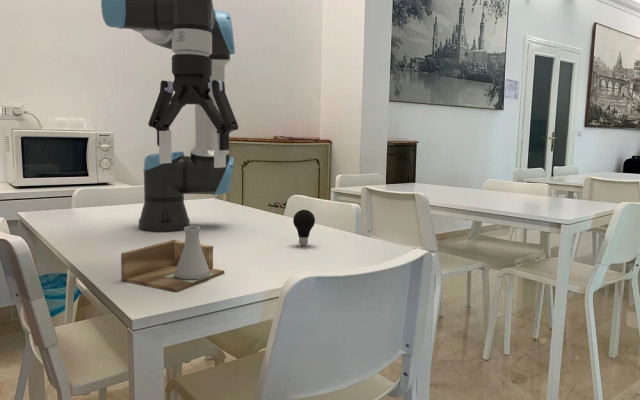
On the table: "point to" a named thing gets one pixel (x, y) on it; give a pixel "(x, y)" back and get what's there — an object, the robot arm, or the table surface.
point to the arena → (162, 266)
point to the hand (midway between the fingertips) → (191, 165)
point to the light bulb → (303, 225)
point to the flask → (192, 257)
